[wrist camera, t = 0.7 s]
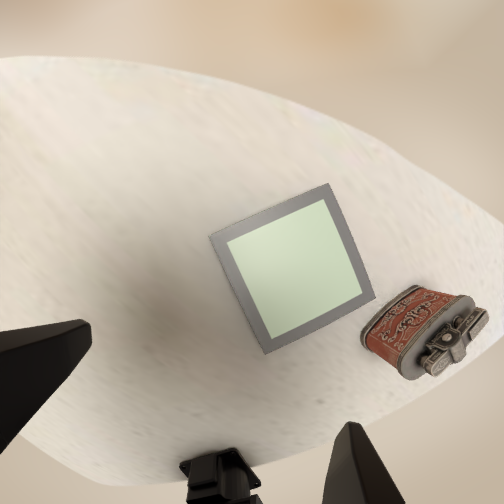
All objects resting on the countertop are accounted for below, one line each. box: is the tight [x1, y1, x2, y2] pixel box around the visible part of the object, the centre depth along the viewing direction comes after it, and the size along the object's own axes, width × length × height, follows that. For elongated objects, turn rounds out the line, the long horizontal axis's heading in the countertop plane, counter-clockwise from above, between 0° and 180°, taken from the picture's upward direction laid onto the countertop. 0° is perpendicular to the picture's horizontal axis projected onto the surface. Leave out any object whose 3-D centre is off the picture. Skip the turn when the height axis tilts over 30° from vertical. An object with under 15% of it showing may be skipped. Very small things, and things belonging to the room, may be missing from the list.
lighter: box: [360, 285, 489, 380], centre depth 20 cm, size 8×3×10 cm, turn 125°
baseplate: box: [209, 183, 376, 355], centre depth 23 cm, size 10×10×2 cm
